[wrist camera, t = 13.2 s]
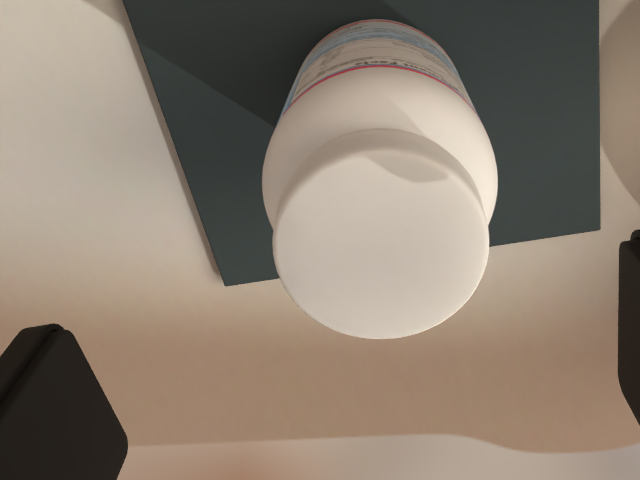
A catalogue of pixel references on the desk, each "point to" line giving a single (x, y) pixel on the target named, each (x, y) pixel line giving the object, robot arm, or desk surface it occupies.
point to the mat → (413, 10)
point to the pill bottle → (379, 184)
